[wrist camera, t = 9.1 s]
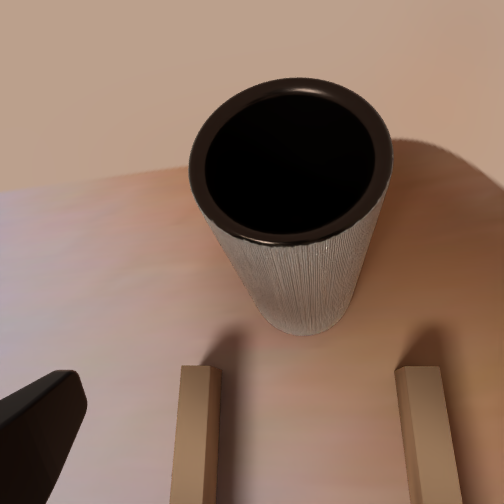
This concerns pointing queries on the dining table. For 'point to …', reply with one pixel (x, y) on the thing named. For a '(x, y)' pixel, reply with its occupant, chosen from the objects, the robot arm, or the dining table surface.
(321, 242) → the planter
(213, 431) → the tan u-shaped frame
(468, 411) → the dining table surface
